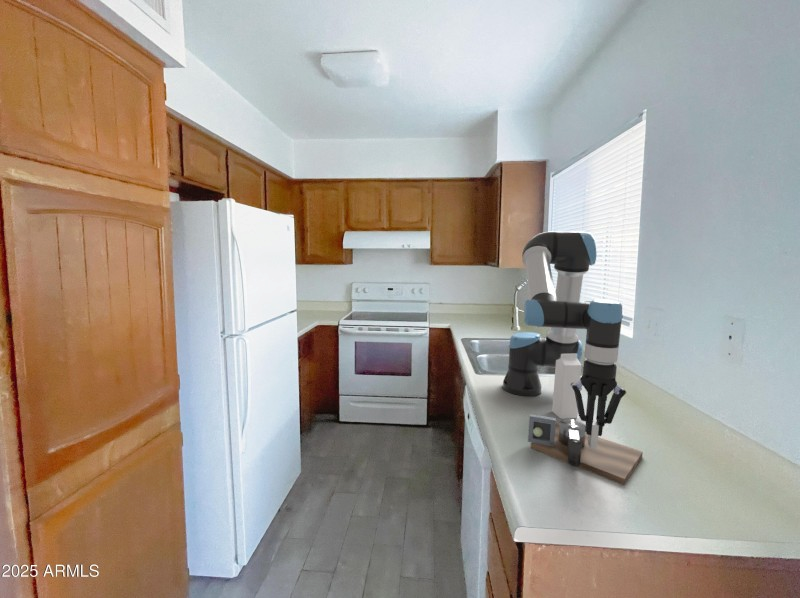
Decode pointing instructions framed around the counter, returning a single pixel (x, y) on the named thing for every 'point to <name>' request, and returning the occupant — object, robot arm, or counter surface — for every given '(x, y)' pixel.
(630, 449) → the stand board
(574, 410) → the milk
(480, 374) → the counter surface
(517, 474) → the counter surface
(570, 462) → the crank handle
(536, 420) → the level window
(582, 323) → the robot arm
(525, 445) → the counter surface
